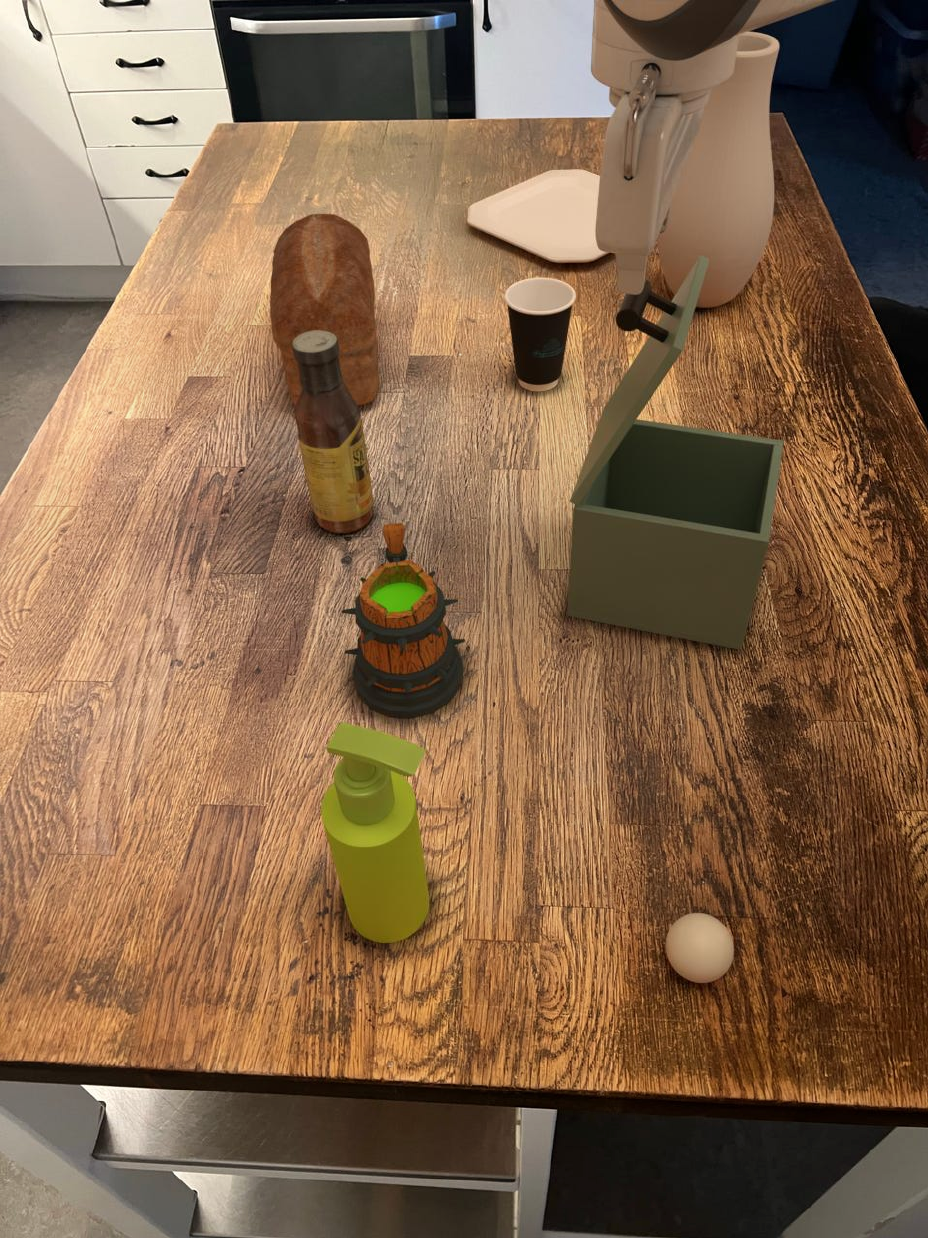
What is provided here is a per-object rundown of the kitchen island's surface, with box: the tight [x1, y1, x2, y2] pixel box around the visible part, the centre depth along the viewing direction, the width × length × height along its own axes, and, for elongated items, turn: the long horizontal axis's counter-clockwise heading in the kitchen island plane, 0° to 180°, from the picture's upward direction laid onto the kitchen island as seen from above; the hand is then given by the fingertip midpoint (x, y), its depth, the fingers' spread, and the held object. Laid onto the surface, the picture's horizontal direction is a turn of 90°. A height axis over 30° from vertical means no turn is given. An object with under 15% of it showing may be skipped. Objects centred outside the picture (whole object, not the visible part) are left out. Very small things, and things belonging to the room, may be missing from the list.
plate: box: [466, 168, 610, 264], centre depth 141 cm, size 25×25×2 cm
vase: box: [656, 31, 780, 309], centre depth 115 cm, size 14×14×30 cm
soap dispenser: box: [320, 721, 431, 944], centre depth 62 cm, size 6×7×20 cm
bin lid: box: [569, 255, 709, 506], centre depth 76 cm, size 17×14×5 cm
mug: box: [341, 522, 466, 719], centre depth 80 cm, size 13×10×12 cm
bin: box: [566, 418, 785, 651], centre depth 86 cm, size 16×14×13 cm
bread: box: [269, 213, 380, 407], centre depth 115 cm, size 12×28×14 cm, turn 7°
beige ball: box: [665, 912, 735, 984], centre depth 64 cm, size 4×4×4 cm
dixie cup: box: [503, 277, 577, 392], centre depth 110 cm, size 8×8×11 cm
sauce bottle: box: [292, 330, 374, 534], centre depth 91 cm, size 7×6×20 cm
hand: (643, 257), depth 69 cm, fingers open, 8 cm apart
